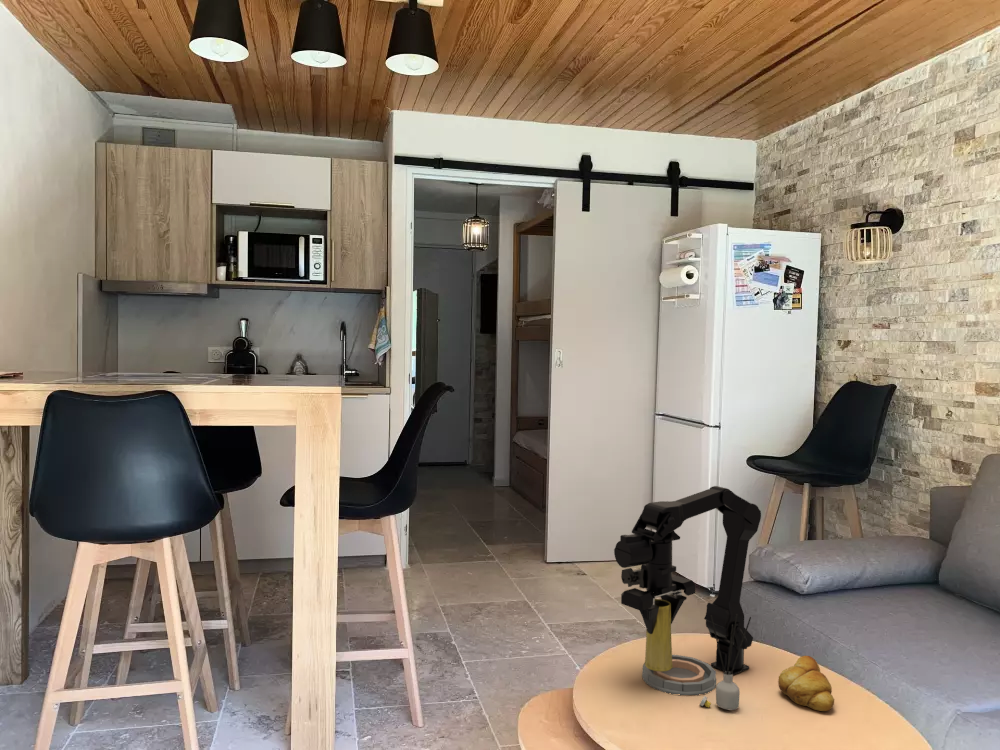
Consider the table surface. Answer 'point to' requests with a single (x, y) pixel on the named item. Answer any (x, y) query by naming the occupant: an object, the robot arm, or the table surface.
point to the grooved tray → (682, 677)
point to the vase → (660, 640)
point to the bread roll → (807, 684)
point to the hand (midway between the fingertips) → (658, 630)
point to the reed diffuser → (726, 680)
